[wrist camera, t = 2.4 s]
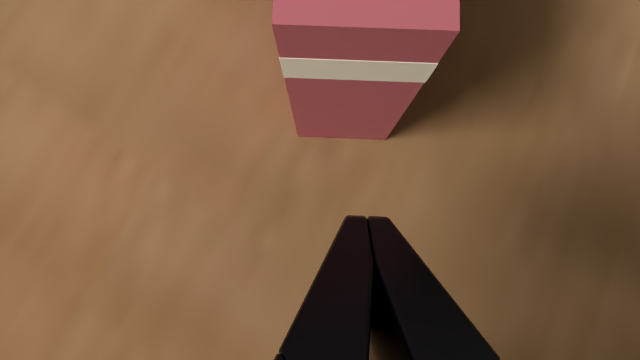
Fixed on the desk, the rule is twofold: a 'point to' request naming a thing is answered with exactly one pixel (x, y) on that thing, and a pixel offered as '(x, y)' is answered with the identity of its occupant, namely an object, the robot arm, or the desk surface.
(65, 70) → the desk surface
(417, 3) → the book
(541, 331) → the desk surface
